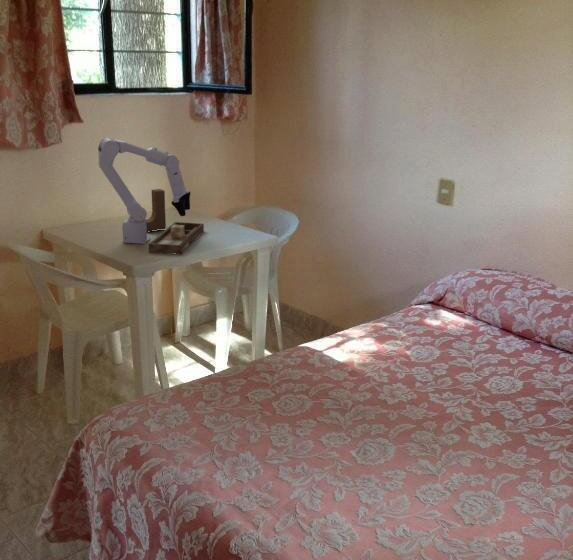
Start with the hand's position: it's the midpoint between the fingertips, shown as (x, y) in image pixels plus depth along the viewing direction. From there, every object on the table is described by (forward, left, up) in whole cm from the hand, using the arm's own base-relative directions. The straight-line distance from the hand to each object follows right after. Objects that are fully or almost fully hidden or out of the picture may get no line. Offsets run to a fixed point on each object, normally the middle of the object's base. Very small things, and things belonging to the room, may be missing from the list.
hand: (185, 212), depth 281 cm
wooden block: (-17, +8, -11) cm, 22 cm away
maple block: (-2, -7, -9) cm, 11 cm away
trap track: (-2, -7, -11) cm, 13 cm away
